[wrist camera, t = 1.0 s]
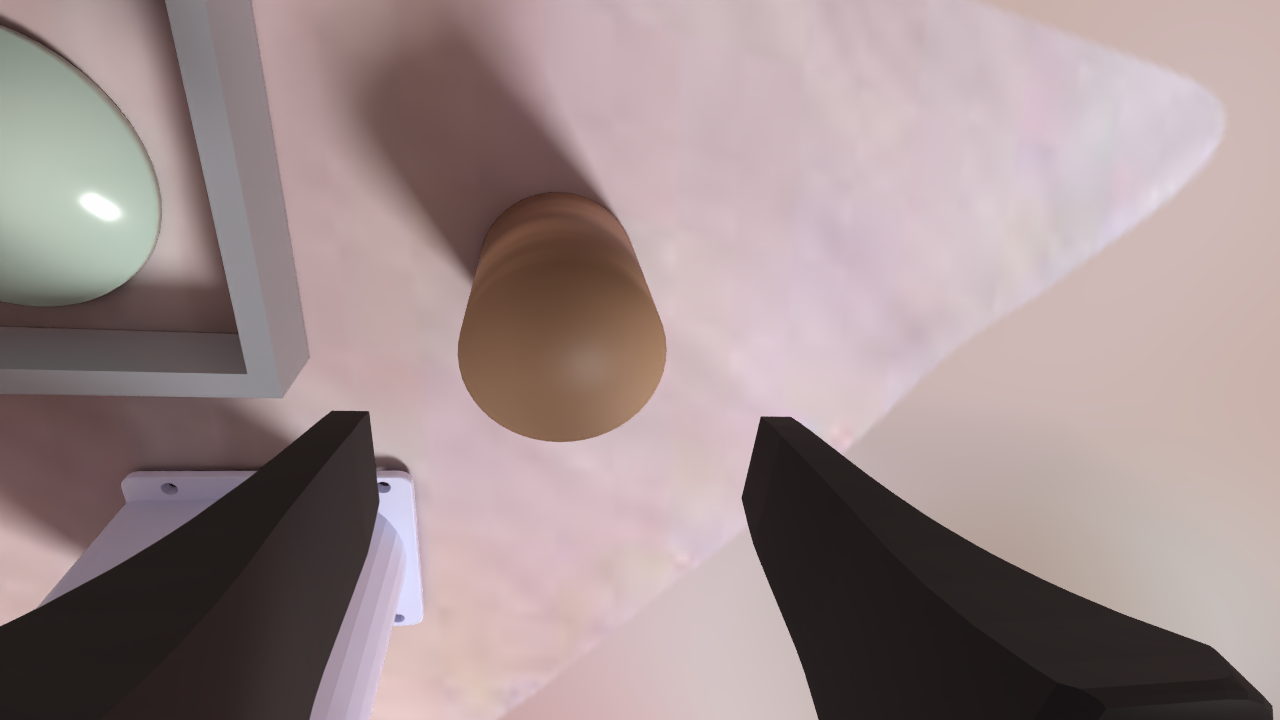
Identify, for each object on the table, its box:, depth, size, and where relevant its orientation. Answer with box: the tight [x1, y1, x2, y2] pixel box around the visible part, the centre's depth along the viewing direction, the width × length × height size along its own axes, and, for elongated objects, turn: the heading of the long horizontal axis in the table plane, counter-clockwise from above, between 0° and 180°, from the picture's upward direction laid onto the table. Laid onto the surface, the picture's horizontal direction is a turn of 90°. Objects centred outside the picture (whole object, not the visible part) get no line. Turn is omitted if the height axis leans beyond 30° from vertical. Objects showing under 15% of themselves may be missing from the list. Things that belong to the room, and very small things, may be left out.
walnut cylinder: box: [458, 192, 666, 442], centre depth 18 cm, size 5×5×6 cm
